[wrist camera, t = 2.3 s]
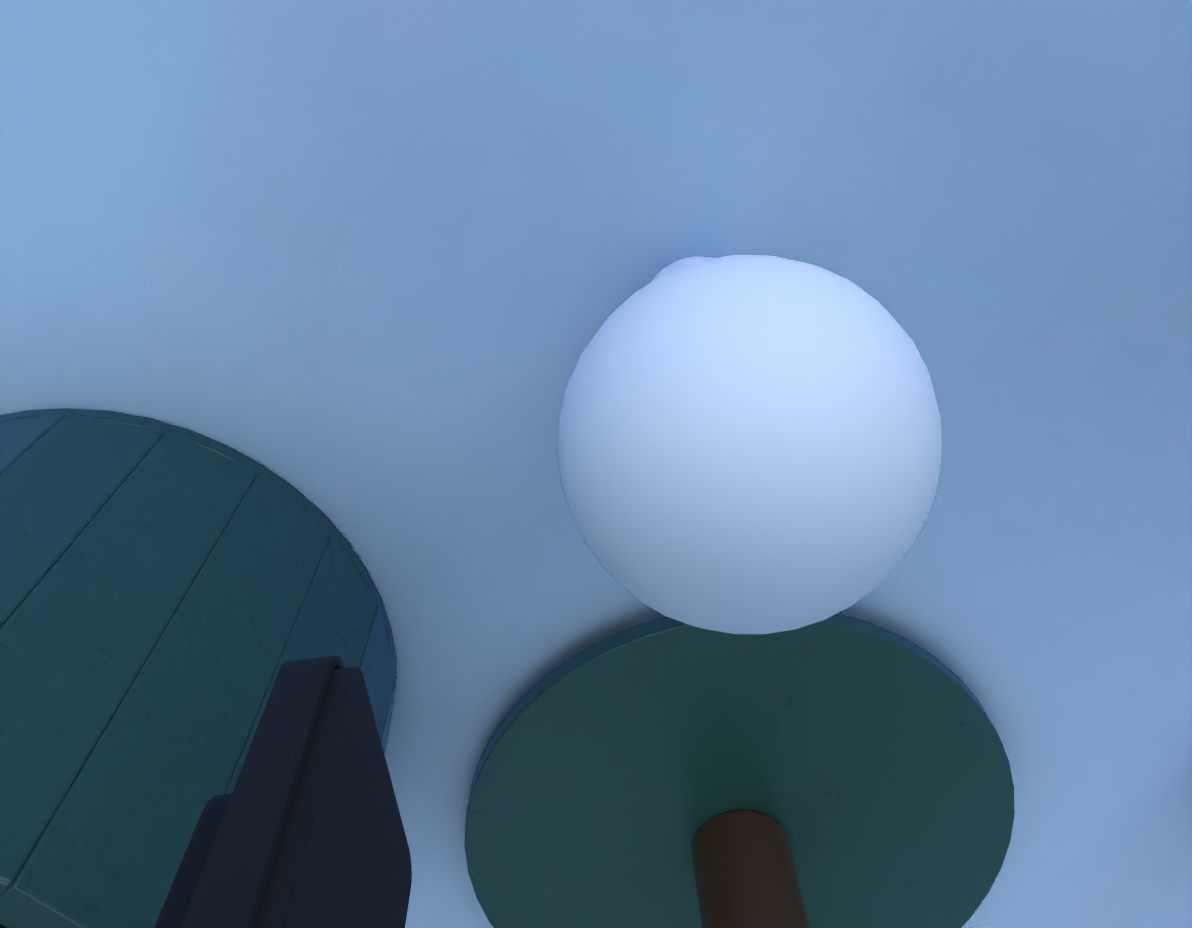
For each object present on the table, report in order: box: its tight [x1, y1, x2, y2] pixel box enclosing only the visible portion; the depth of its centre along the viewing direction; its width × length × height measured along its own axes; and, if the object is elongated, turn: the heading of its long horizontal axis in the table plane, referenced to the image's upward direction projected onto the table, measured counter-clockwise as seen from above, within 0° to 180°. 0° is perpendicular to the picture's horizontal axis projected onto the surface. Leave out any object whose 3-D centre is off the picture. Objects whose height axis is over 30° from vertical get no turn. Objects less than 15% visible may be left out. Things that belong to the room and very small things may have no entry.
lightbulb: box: [558, 255, 942, 634], centre depth 19 cm, size 6×6×11 cm
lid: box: [465, 613, 1014, 928], centre depth 28 cm, size 16×16×6 cm
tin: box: [0, 409, 397, 928], centre depth 22 cm, size 15×15×13 cm
